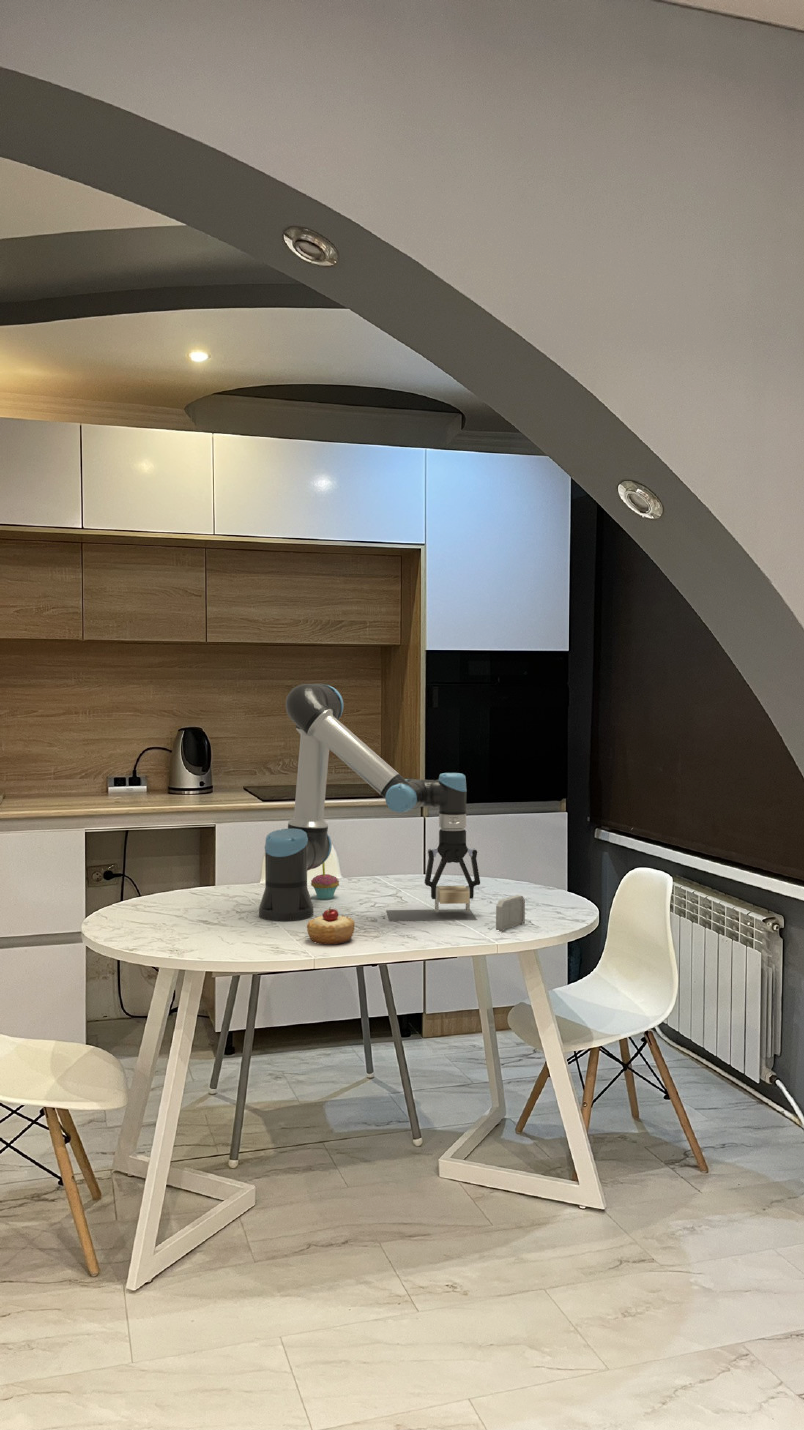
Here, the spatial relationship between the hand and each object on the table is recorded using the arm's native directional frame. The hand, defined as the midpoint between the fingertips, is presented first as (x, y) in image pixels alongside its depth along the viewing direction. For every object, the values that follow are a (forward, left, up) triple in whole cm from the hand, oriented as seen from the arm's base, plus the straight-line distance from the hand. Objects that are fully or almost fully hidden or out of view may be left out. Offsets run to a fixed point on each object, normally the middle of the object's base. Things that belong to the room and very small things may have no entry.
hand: (452, 910), depth 293 cm
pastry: (-34, -25, -2) cm, 42 cm away
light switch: (+14, -13, -2) cm, 19 cm away
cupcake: (-35, +29, -2) cm, 45 cm away
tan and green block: (0, -5, +5) cm, 7 cm away
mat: (-6, 0, -2) cm, 6 cm away
